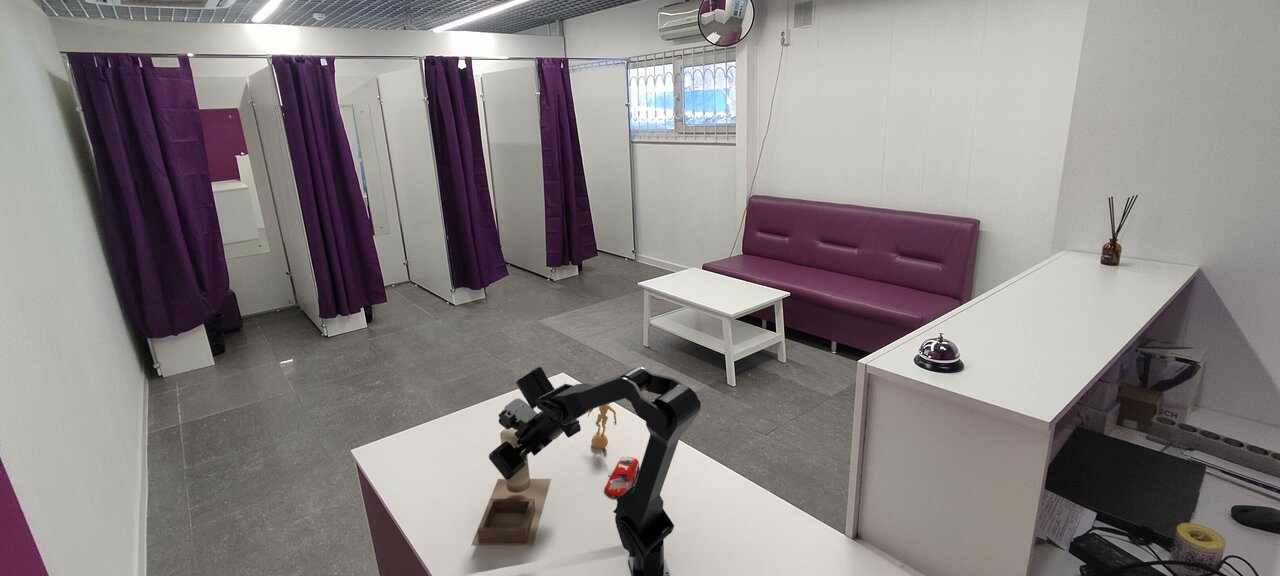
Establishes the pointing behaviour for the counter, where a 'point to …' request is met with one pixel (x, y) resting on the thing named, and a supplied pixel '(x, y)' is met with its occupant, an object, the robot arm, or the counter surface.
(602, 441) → the figurine
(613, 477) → the race car
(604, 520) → the counter surface
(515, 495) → the jig board
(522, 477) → the post
